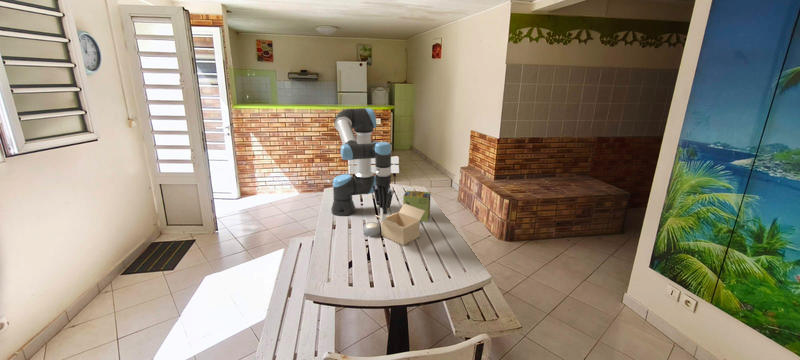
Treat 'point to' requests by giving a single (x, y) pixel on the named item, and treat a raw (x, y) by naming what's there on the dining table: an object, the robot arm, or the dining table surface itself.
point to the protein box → (418, 202)
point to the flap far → (412, 211)
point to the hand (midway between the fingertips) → (383, 219)
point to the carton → (397, 234)
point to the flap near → (390, 222)
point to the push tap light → (371, 229)
